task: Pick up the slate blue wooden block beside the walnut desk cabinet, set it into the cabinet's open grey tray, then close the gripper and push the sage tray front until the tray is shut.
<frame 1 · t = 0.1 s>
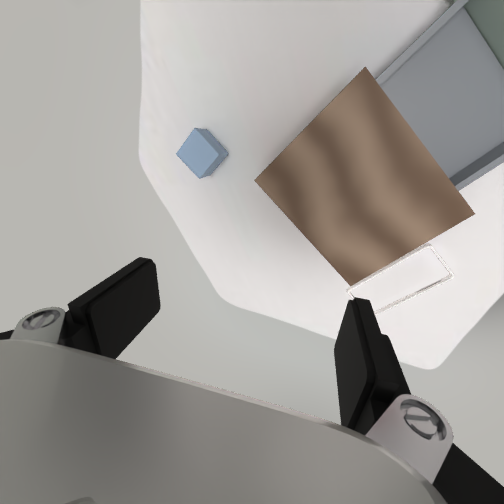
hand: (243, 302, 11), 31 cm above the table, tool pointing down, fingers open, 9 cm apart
phone case: (394, 280, 42), on the table
blue block: (208, 153, 40), on the table
tray: (450, 112, 27), point 5 cm above the table, slide at 11.0 cm
cabinet: (347, 184, 37), on the table
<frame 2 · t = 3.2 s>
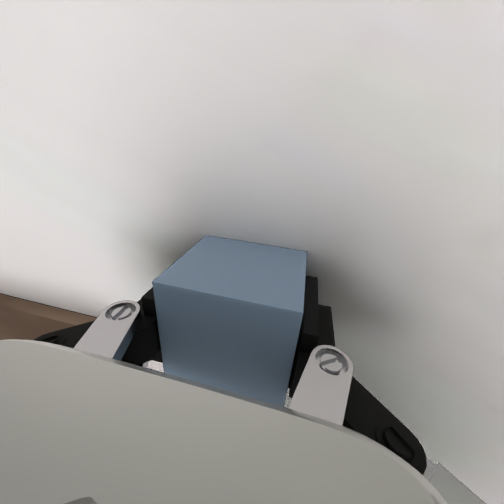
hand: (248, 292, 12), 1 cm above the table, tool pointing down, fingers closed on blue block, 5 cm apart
blue block: (251, 286, 13), on the table, touching gripper
cabinet: (38, 367, 21), on the table
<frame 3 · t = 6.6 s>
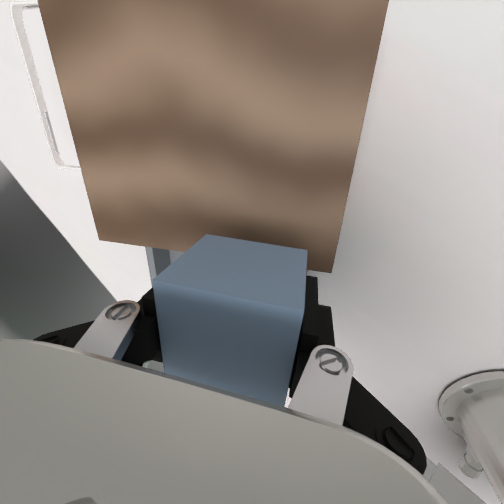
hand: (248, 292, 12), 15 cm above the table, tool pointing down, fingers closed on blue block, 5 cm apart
phone case: (74, 98, 26), on the table
blue block: (251, 285, 12), point 15 cm above the table, touching gripper
tray: (221, 278, 25), point 5 cm above the table, slide at 11.0 cm
cabinet: (236, 145, 24), on the table
when the fingers open (4 cm above the table, at t = 9.9 s): blue block drops 1 cm, resting on tray.
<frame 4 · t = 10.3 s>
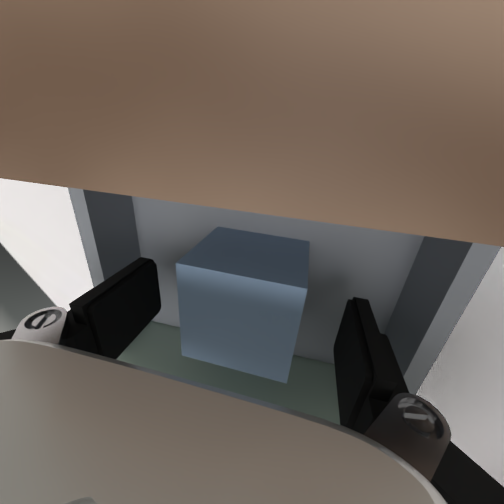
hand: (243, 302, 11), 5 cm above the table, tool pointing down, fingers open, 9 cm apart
blue block: (257, 273, 14), point 2 cm above the table, touching tray
tray: (245, 285, 11), point 5 cm above the table, slide at 11.0 cm, touching blue block
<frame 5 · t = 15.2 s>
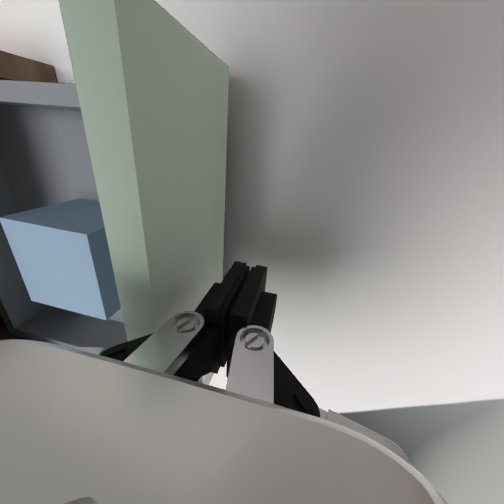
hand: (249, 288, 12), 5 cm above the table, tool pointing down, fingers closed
blue block: (119, 239, 16), point 2 cm above the table, touching tray
tray: (70, 255, 14), point 5 cm above the table, slide at 10.0 cm, touching blue block, gripper
cabinet: (9, 207, 20), on the table
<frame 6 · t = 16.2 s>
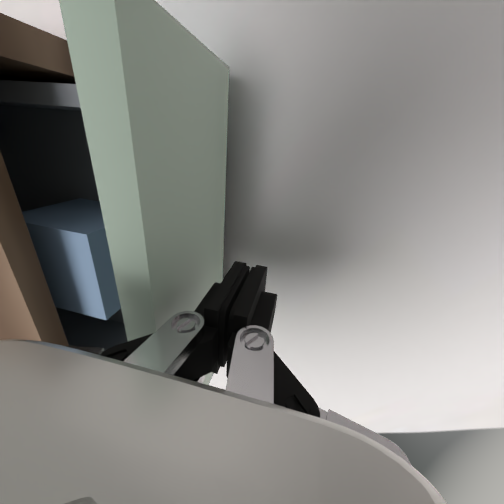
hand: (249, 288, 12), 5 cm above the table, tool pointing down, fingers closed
blue block: (119, 239, 16), point 2 cm above the table, touching tray
tray: (70, 255, 14), point 5 cm above the table, slide at 4.2 cm, touching blue block, gripper
cabinet: (66, 217, 19), on the table
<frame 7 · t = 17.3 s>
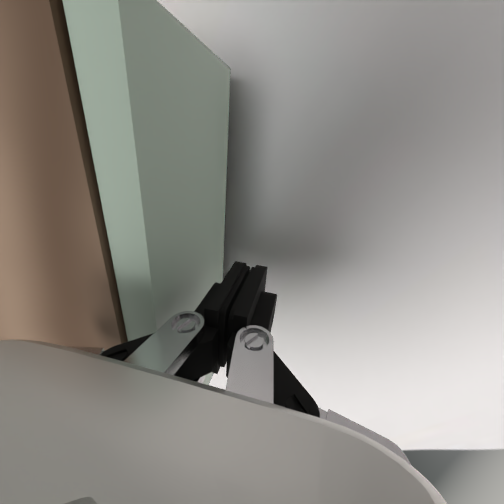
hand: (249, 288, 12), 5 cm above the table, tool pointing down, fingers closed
tray: (70, 256, 14), point 5 cm above the table, slide at -0.2 cm, touching blue block, gripper
cabinet: (112, 225, 18), on the table
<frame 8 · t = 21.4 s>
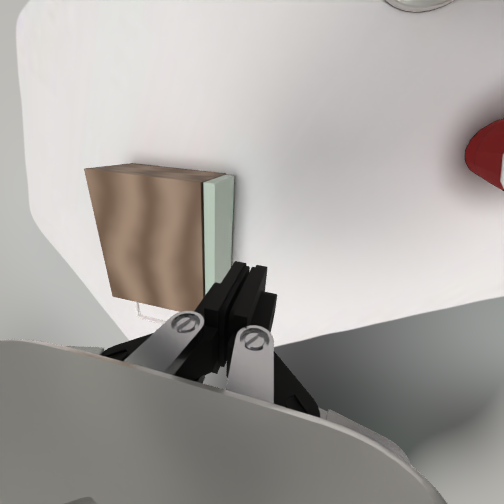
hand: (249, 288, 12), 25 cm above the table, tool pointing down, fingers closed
plastic cup: (491, 147, 27), on the table
tray: (174, 240, 36), point 5 cm above the table, slide at 0.0 cm, touching blue block
cabinet: (180, 228, 41), on the table
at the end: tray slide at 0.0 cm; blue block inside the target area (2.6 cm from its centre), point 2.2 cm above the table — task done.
